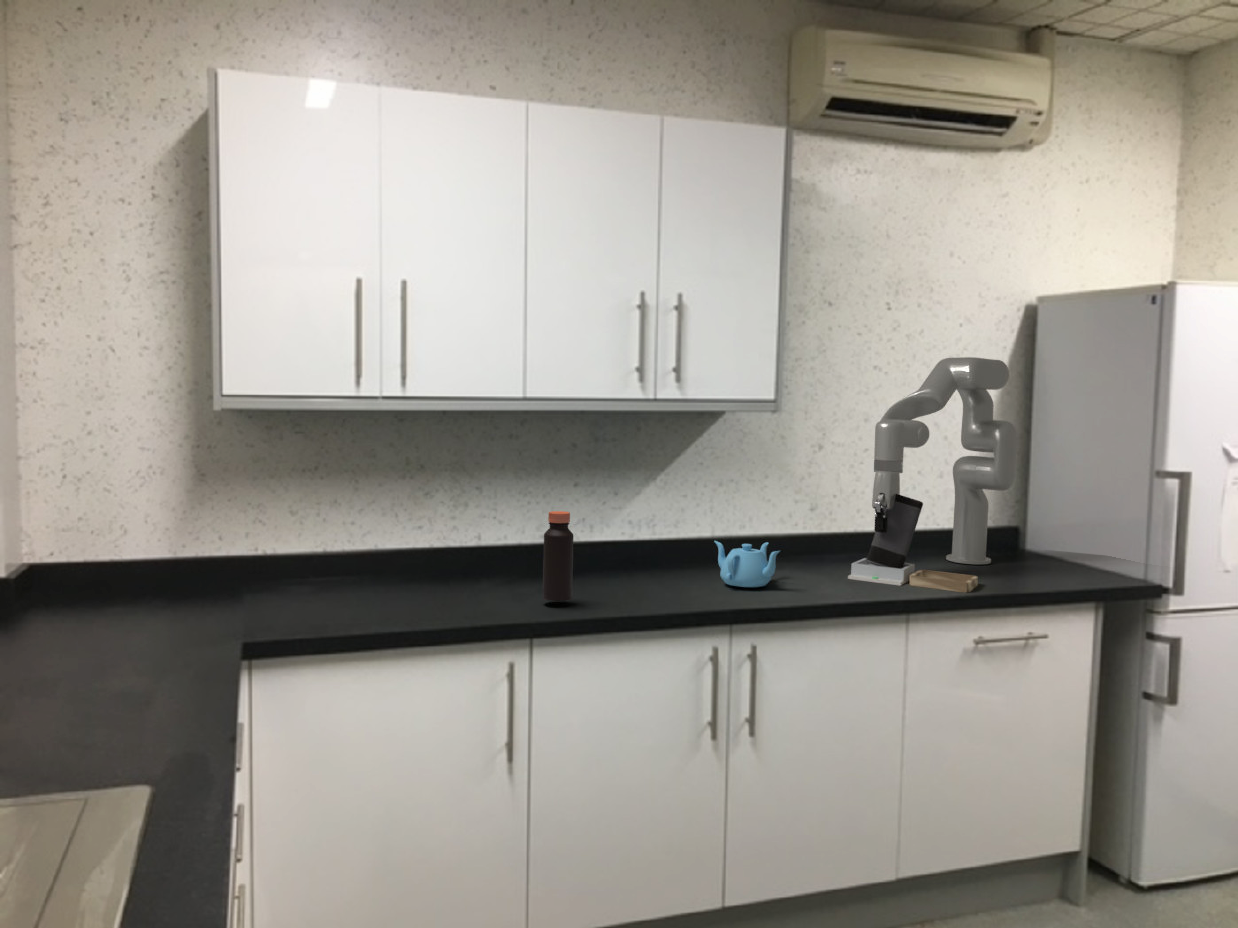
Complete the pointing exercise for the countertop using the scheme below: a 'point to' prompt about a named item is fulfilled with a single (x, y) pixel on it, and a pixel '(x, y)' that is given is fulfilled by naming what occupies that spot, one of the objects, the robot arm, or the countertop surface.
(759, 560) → the teapot
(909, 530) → the electronic device
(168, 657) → the countertop surface
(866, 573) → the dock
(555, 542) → the bottle
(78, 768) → the countertop surface
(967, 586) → the wooden tray
